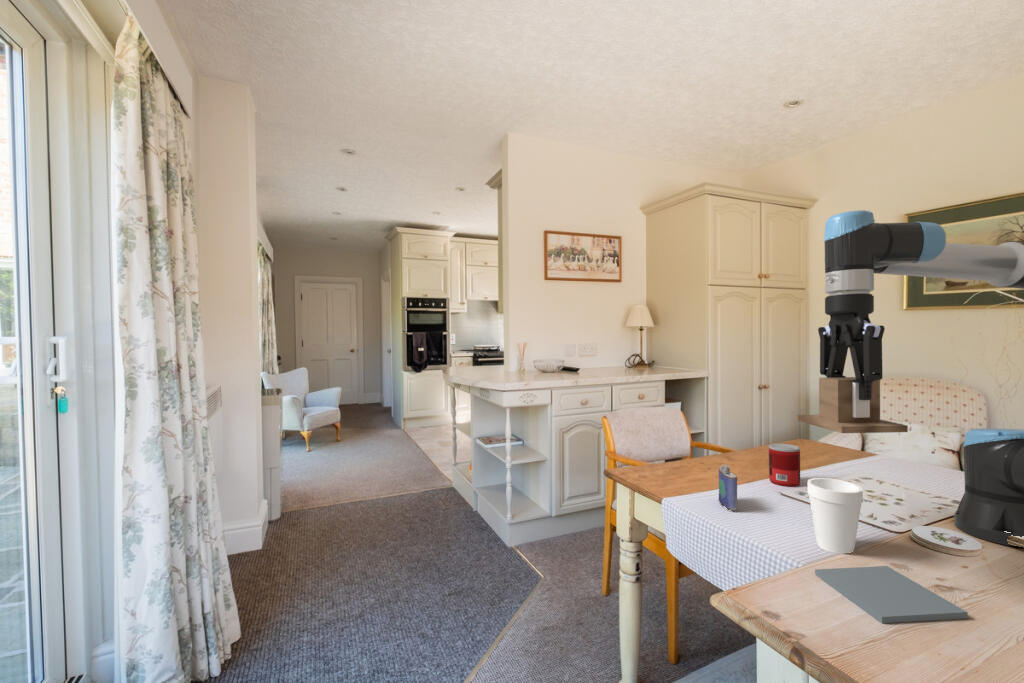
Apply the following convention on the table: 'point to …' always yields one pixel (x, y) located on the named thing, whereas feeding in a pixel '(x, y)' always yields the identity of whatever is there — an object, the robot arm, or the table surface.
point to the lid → (848, 409)
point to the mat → (889, 595)
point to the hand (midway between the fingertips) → (849, 414)
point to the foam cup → (835, 513)
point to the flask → (727, 488)
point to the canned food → (784, 465)
